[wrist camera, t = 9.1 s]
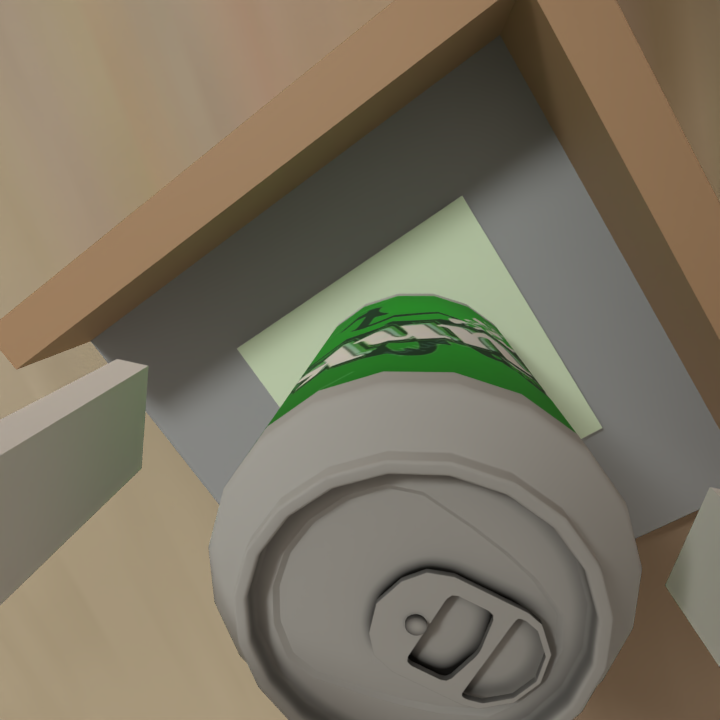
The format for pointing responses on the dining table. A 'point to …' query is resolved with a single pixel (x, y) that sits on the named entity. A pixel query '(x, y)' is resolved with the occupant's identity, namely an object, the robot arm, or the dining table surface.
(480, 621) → the soda can
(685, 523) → the dining table surface
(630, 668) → the dining table surface
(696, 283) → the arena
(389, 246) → the pad
